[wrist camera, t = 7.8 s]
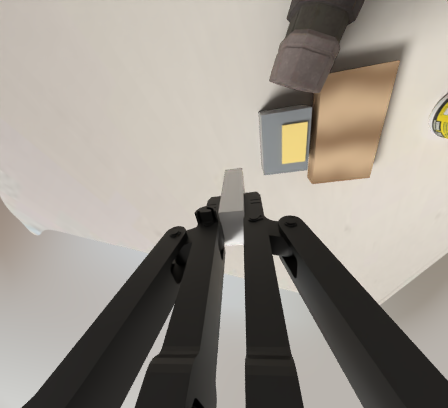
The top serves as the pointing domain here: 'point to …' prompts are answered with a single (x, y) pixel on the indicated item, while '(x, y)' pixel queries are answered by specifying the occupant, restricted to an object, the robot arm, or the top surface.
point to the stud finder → (285, 139)
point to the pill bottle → (440, 119)
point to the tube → (312, 42)
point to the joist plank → (349, 122)
